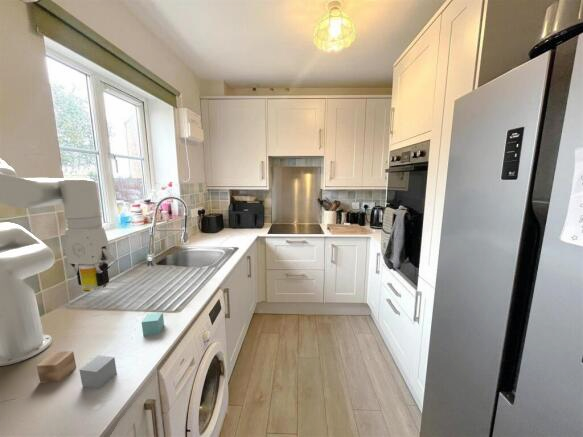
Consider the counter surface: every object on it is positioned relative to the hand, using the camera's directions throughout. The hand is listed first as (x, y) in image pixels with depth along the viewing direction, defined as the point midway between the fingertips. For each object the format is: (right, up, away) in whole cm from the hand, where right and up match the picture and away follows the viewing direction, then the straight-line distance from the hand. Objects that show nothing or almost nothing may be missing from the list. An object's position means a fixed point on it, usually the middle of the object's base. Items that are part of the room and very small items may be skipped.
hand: (94, 283), depth 70 cm
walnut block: (-5, -23, -6) cm, 24 cm away
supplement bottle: (0, -2, 0) cm, 2 cm away
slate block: (+8, -23, -8) cm, 26 cm away
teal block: (+10, -20, +13) cm, 26 cm away
